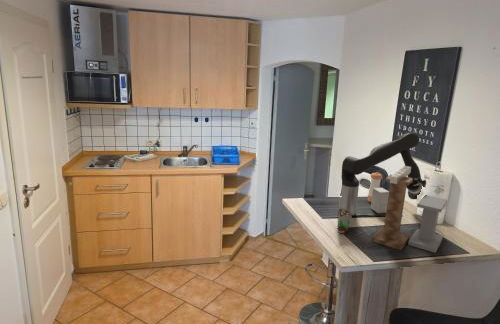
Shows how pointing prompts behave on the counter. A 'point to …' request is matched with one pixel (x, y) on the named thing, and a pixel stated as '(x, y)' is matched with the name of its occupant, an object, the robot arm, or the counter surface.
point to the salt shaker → (374, 184)
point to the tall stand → (394, 216)
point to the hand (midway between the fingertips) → (409, 177)
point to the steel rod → (400, 174)
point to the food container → (343, 220)
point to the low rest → (428, 224)
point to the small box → (379, 200)
